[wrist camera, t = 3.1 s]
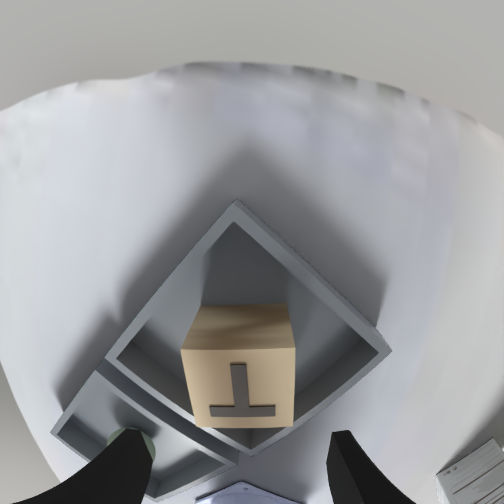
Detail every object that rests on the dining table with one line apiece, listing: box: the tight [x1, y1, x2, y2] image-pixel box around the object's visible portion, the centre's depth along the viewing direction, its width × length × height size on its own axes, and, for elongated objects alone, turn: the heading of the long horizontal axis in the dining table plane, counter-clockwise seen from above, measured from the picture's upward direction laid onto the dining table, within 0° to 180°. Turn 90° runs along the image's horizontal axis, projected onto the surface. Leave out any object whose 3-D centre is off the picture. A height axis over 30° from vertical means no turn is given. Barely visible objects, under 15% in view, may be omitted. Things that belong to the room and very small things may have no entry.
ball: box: [107, 427, 156, 463], centre depth 19 cm, size 4×4×4 cm
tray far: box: [50, 358, 239, 502], centre depth 20 cm, size 12×12×3 cm
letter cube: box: [180, 303, 295, 428], centre depth 15 cm, size 5×5×5 cm
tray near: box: [104, 199, 392, 457], centre depth 17 cm, size 12×12×3 cm
